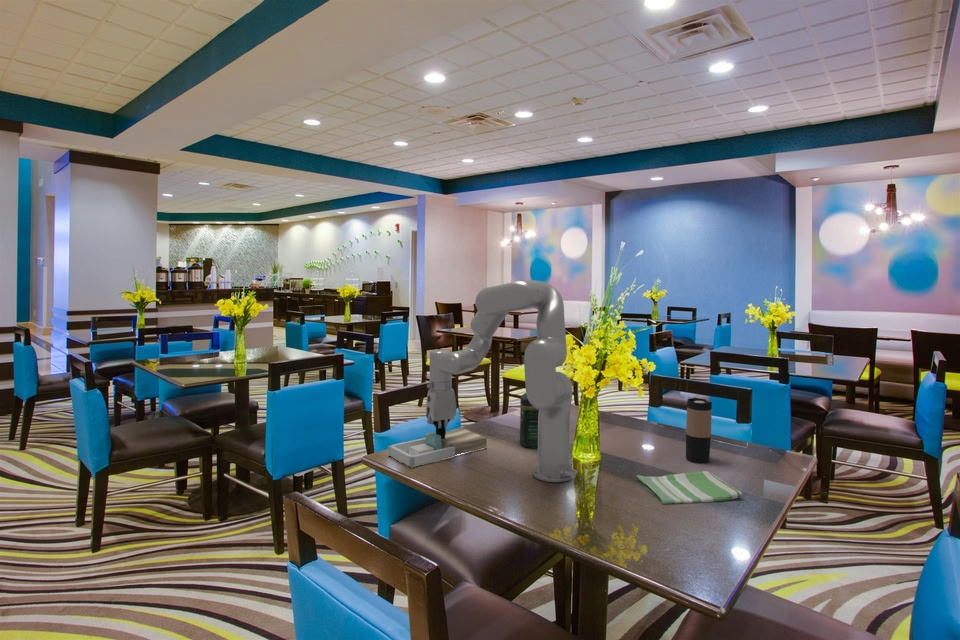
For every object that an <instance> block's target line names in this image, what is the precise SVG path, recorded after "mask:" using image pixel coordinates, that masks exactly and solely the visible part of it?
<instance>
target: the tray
mask: <svg viewBox="0 0 960 640" xmlns="http://www.w3.org/2000/svg"><path fill="white" fill-rule="evenodd" d="M420 444H426V438H425V437H423V438H418V439H414V440H413V439H412V440H408V441H404V442H399V443H395V444H391V445H387V455H388V454H389V455H390V456H392V457H394V458H396V459H398V460H400V461H402V462H403V463H405V464H407V465H409V466H411V467H413V466H418V465H422V464H426V463H430V462H433V461H437V460H441V459H444V458H448V457H452V456H455V447H454V446H452V447H448V448H443V449H439V450H435V451H431V452H426V453H422V454H418V455H414V456H412V455H410V454H408V453H406V451H409V447H411V446H416V445H420Z"/></svg>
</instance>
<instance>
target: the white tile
mask: <svg viewBox="0 0 960 640" xmlns="http://www.w3.org/2000/svg"><path fill="white" fill-rule="evenodd" d="M431 451H434V448H433V447H431V446H429V445H426V444H420V445H416V446H411V447H409V454H410V455H412V456H414V455H418V454H422V453H426V452H431Z"/></svg>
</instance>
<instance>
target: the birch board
mask: <svg viewBox="0 0 960 640" xmlns="http://www.w3.org/2000/svg"><path fill="white" fill-rule="evenodd" d="M487 440H488V439H487V437H486V436H483V435H481V434H478V433H476V432H472V431H469V430H467V429H465V428H461V429H456V430H451V431H447V432H446V435H445V439H442V440H441V442H442V449H443V448H448V447H452V446H454V447H455V455H457V454H461V453H465V452H469V451H473V450H478V449H481V448H485V447H487Z"/></svg>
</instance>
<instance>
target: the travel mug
mask: <svg viewBox="0 0 960 640" xmlns="http://www.w3.org/2000/svg"><path fill="white" fill-rule="evenodd" d="M712 402H713V401H708V400H707V399H705V398H700V397H698V398H695V397H693V398H688V399H687V402H686V403H687V404H686V421H685V423H686V424H685V425H686V426H685V459H686V461H688V462H690V463H693V464H701V465H702V463H704V464H708V463H709V461H710V456H711V455H710V454H711V440H712V414H713V413H712V412H713V410H712V408H713V407H712V405H713V403H712Z"/></svg>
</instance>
